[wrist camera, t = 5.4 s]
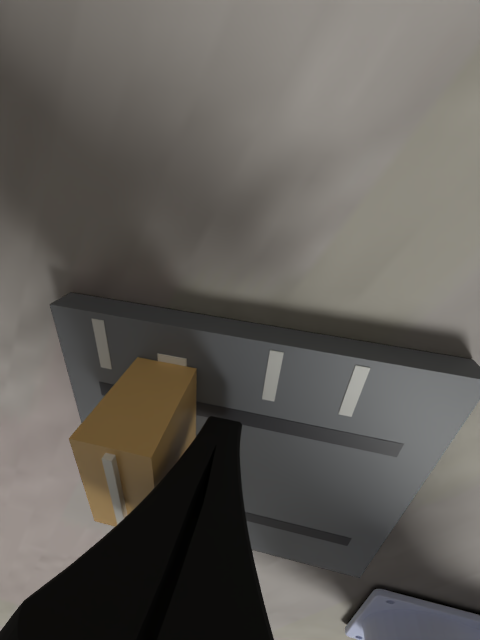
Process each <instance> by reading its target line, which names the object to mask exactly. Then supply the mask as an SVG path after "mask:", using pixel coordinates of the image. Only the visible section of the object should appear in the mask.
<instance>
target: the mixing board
mask: <svg viewBox="0 0 480 640" xmlns="http://www.w3.org/2000/svg"><path fill="white" fill-rule="evenodd" d="M50 308H51V311H52V315H53V319H54V322H55V326H56V330H57V334H58V337H59V341H60V345H61V348H62V352H63V356H64V360H65V363H66V367H67V371H68V374H69V378H70V382H71V386H72V389H73V393H74V397H75V400H76V404H77V408H78V412H79V415H80V419H81V423H82V422H83V421H84V420H85V419H86V418H87V416H88V415H89V414H90V413H91V412H92V411H93V409H94V408H95V407H96V406H97V405H98V403H99V402H100V401H101V400H102V399H103V397H104V396H105V395H106V394H107V393H108V392H109V390H110V389H111V388H112V387H113V386H114V384H115V383H116V382H117V381H118V380H119V378H120V377H121V376H122V375H123V374H124V373H125V371H126V370H127V369H128V368H129V367H130V365H131V364H132V363H133V362H134V361H135V359H136V358H137V357H139V358H145V359H150V360H155V361H160V362H166V363H171V364H176V365H181V366H187V367H192V368H197V383H196V436H197V435H198V433H199V432H200V430H201V429H202V427H203V425H204V424H205V422H206V420H207V419H208V417H210V416H214V417H219V418H224V419H228V420H233V421H238V422H240V423H241V424H242V431H241V439H240V469H241V483H242V492H243V500H244V508H245V515H246V521H247V527H248V533H249V538H250V543H251V548H252V550H255V551H258V552H262V553H266V554H270V555H274V556H277V557H281V558H285V559H289V560H293V561H296V562H300V563H304V564H308V565H312V566H316V567H319V568H323V569H327V570H331V571H335V572H338V573H342V574H346V575H350V576H354V577H357V578H360V577H361V575H362V574H363V572H364V571H365V569H366V568H367V566H368V565H369V563H370V562H371V560H372V559H373V557H374V556H375V555H376V553H377V552H378V550H379V549H380V547H381V546H382V544H383V543H384V541H385V540H386V538H387V537H388V535H389V534H390V532H391V531H392V529H393V528H394V526H395V525H396V523H397V522H398V520H399V519H400V517H401V516H402V514H403V513H404V512H405V510H406V509H407V507H408V506H409V504H410V503H411V501H412V500H413V498H414V497H415V495H416V494H417V492H418V491H419V489H420V488H421V486H422V485H423V483H424V482H425V480H426V479H427V477H428V476H429V474H430V473H431V471H432V470H433V469H434V467H435V466H436V464H437V463H438V461H439V460H440V458H441V457H442V455H443V454H444V452H445V451H446V449H447V448H448V446H449V445H450V443H451V442H452V440H453V439H454V437H455V436H456V434H457V433H458V431H459V430H460V428H461V427H462V425H463V424H464V423H465V421H466V420H467V418H468V417H469V415H470V414H471V412H472V411H473V409H474V408H475V406H476V405H477V403H478V402H479V400H480V367H479V366H478V364H477V363H476V362H475V361H474V360H472V359H466V358H460V357H454V356H448V355H442V354H436V353H430V352H424V351H418V350H412V349H406V348H400V347H394V346H388V345H382V344H376V343H370V342H364V341H358V340H352V339H346V338H340V337H334V336H328V335H322V334H316V333H310V332H304V331H298V330H292V329H286V328H280V327H274V326H268V325H262V324H256V323H250V322H244V321H238V320H232V319H226V318H220V317H214V316H208V315H202V314H196V313H190V312H184V311H178V310H172V309H166V308H160V307H154V306H148V305H142V304H136V303H130V302H124V301H118V300H112V299H106V298H100V297H94V296H88V295H82V294H76V293H69V294H67V295H66V296H64V297H62V298H60V299H58V300H57V301H55V302H53V303H51V304H50Z"/></svg>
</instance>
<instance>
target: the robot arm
mask: <svg viewBox="0 0 480 640" xmlns="http://www.w3.org/2000/svg"><path fill="white" fill-rule="evenodd" d="M241 431H242V424H241V423H240V422H238V421H233V420H228V419H224V418H219V417H214V416H210V417H208V419H207V420H206V422H205V424H204V425H203V427H202V429H201V430H200V432H199V433H198V435H197V436H196V437H195V439H194V440H193V442H192V443H191V444H190V446H189V447H188V448H187V450H186V451H185V452H184V454H183V455H182V456H181V457H180V459H179V460H178V461H177V463H176V464H175V465H174V466H173V467H172V468H171V470H170V471H169V472H168V473H167V474H166V475H165V477H164V478H163V479H162V480H161V481H160V482H159V484H158V485H157V486H156V487H155V488H154V489H153V490H152V491H151V492H150V493H149V494H148V495H147V496H146V497H145V498H144V499H143V500H142V502H141V503H140V504H139V505H138V506H137V507H136V508H135V509H134V510H133V511H131V512H130V513H129V514H128V515H127V516H126V517H125V518H124V519H123V520H122V521H121V522H120V523H119V524H118V525H117V526H116V527H114V528H113V529H112V530H111V531H110V532H109V533H108V534H107V535H106V536H104V537H103V538H102V539H101V540H100V541H99V542H97V543H96V544H95V545H94V546H93V547H91V548H90V549H89V550H88V551H87V552H86V553H84V554H83V555H82V556H81V557H80V558H78V559H77V560H76V561H75V562H74V563H72V564H71V565H70V566H69V567H67V568H66V569H65V570H63V571H62V572H61V573H60V574H58V575H57V576H56V577H54V578H53V579H52V580H50V581H49V582H48V583H46V584H45V585H44V586H42V587H41V588H40V589H39V590H37V591H36V592H35V593H33V594H32V595H31V596H29V597H28V598H27V599H26V600H24V601H23V603H22V604H21V605H20V606H19V607H18V609H17V610H16V611H15V613H14V614H13V615H12V616H11V618H10V619H9V621H8V622H7V623H6V625H5V626H4V627H3V629H2V630H1V631H0V640H274V638H273V635H272V631H271V628H270V624H269V620H268V616H267V613H266V609H265V605H264V601H263V597H262V593H261V588H260V584H259V580H258V576H257V571H256V567H255V563H254V558H253V553H252V548H251V543H250V538H249V533H248V527H247V521H246V515H245V508H244V500H243V492H242V483H241V469H240V439H241ZM345 633H346V635H347V636H348V637H351V638H355V639H358V640H480V615H478V614H474V613H471V612H467V611H463V610H459V609H455V608H452V607H448V606H444V605H440V604H436V603H433V602H429V601H425V600H421V599H418V598H414V597H410V596H406V595H402V594H399V593H395V592H391V591H387V590H384V589H375V590H373V592H372V593H371V594H370V596H369V597H368V598H367V600H366V601H365V602H364V603H363V605H362V606H361V607H360V609H359V610H358V611H357V613H356V614H355V615H354V616H353V618H352V619H351V620H350V622H349V623H348V624H347V626H346V627H345Z"/></svg>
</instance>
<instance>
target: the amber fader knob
mask: <svg viewBox="0 0 480 640" xmlns="http://www.w3.org/2000/svg"><path fill="white" fill-rule="evenodd" d="M196 383H197V368H192V367H187V366H181V365H176V364H171V363H166V362H160V361H155V360H150V359H145V358H139V357H137V358H136V359H135V361H134V362H133V363H132V364H131V365H130V367H129V368H128V369H127V370H126V371H125V373H124V374H123V375H122V376H121V377H120V378H119V380H118V381H117V382H116V383H115V384H114V386H113V387H112V388H111V389H110V390H109V392H108V393H107V394H106V395H105V396H104V397H103V399H102V400H101V401H100V402H99V403H98V405H97V406H96V407H95V408H94V409H93V411H92V412H91V413H90V414H89V415H88V416H87V418H86V419H85V420H84V421H83V422H82V424H81V425H80V426H79V427H78V428H77V430H76V431H75V432H74V433H73V434H72V436H71V437H70V438H69V441H70V444H71V447H72V450H73V453H74V457H75V460H76V463H77V466H78V469H79V473H80V476H81V479H82V482H83V485H84V489H85V492H86V495H87V498H88V501H89V505H90V508H91V511H92V514H93V517H94V521H97V522H100V523H104V524H108V525H111V526H115V527H116V526H117V525H118V524H119V523H120V522H121V521H122V520H123V519H124V518H125V517H126V516H127V515H128V514H129V513H130V512H131V511H133V510H134V509H135V508H136V507H137V506H138V505H139V504H140V503H141V502H142V500H143V499H144V498H145V497H146V496H147V495H148V494H149V493H150V492H151V491H152V490H153V489H154V488H155V487H156V486H157V485H158V484H159V482H160V481H161V480H162V479H163V478H164V477H165V475H166V474H167V473H168V472H169V471H170V470H171V468H172V467H173V466H174V465H175V464H176V463H177V461H178V460H179V459H180V457H181V456H182V455H183V454H184V452H185V451H186V450H187V448H188V447H189V446H190V444H191V443H192V442H193V440H194V439H195V437H196Z"/></svg>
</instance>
